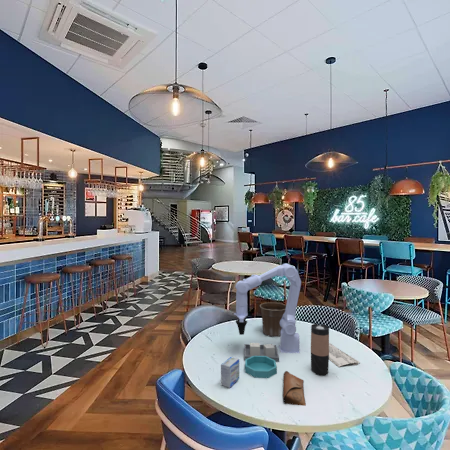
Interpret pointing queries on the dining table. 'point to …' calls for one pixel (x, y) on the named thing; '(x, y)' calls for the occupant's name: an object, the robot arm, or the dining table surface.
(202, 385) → the dining table surface
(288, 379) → the sunglasses case
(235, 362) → the medicine box
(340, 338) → the dining table surface
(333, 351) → the newspaper
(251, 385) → the dining table surface
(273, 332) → the plant pot
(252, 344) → the white rectangular block
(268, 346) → the light gray cube block
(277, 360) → the parts tray
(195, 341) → the dining table surface
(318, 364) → the travel mug
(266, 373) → the bowl
